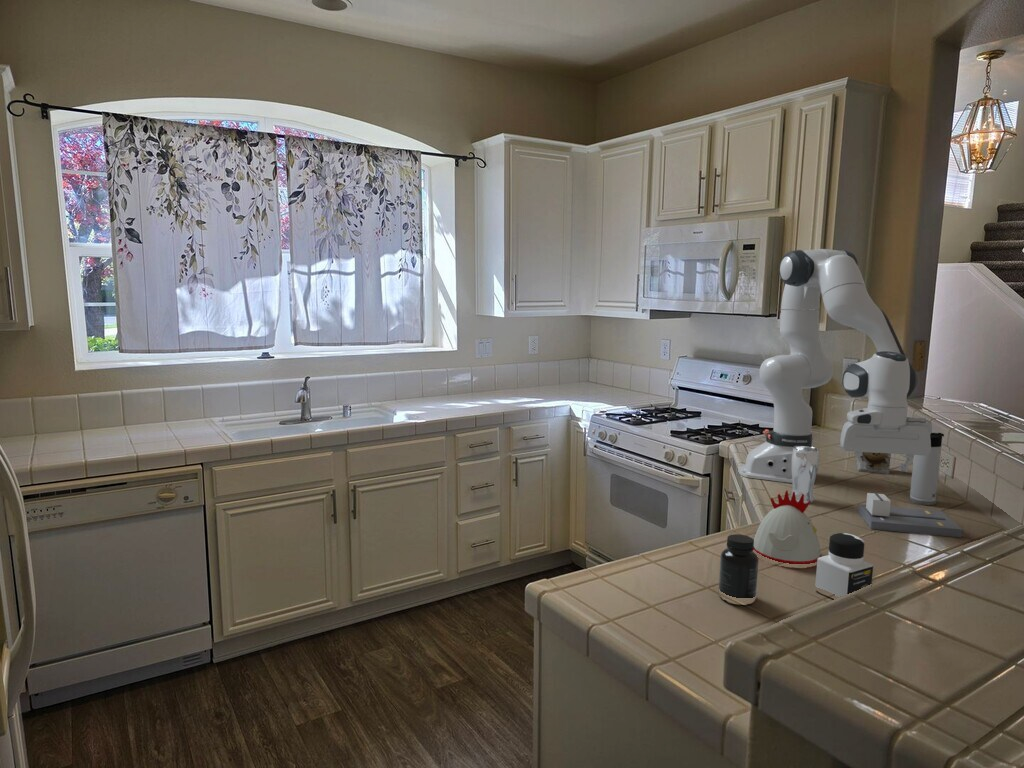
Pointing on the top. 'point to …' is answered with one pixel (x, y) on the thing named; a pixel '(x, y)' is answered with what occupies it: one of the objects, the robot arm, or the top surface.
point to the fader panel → (912, 521)
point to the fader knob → (878, 504)
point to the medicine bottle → (843, 566)
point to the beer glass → (804, 471)
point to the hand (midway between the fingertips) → (882, 469)
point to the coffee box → (876, 462)
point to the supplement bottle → (739, 567)
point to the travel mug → (926, 473)
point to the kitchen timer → (788, 533)
